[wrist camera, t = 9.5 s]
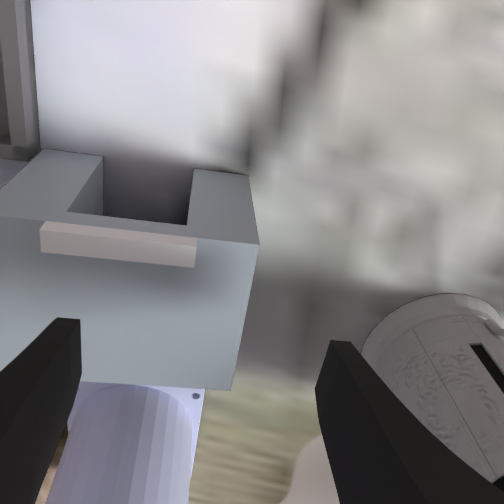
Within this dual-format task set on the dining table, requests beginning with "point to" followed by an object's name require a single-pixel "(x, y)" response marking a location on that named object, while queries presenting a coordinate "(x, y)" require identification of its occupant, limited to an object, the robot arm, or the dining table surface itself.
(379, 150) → the dining table surface
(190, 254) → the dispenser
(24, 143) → the tray
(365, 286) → the dining table surface
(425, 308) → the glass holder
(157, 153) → the dining table surface
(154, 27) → the dining table surface
